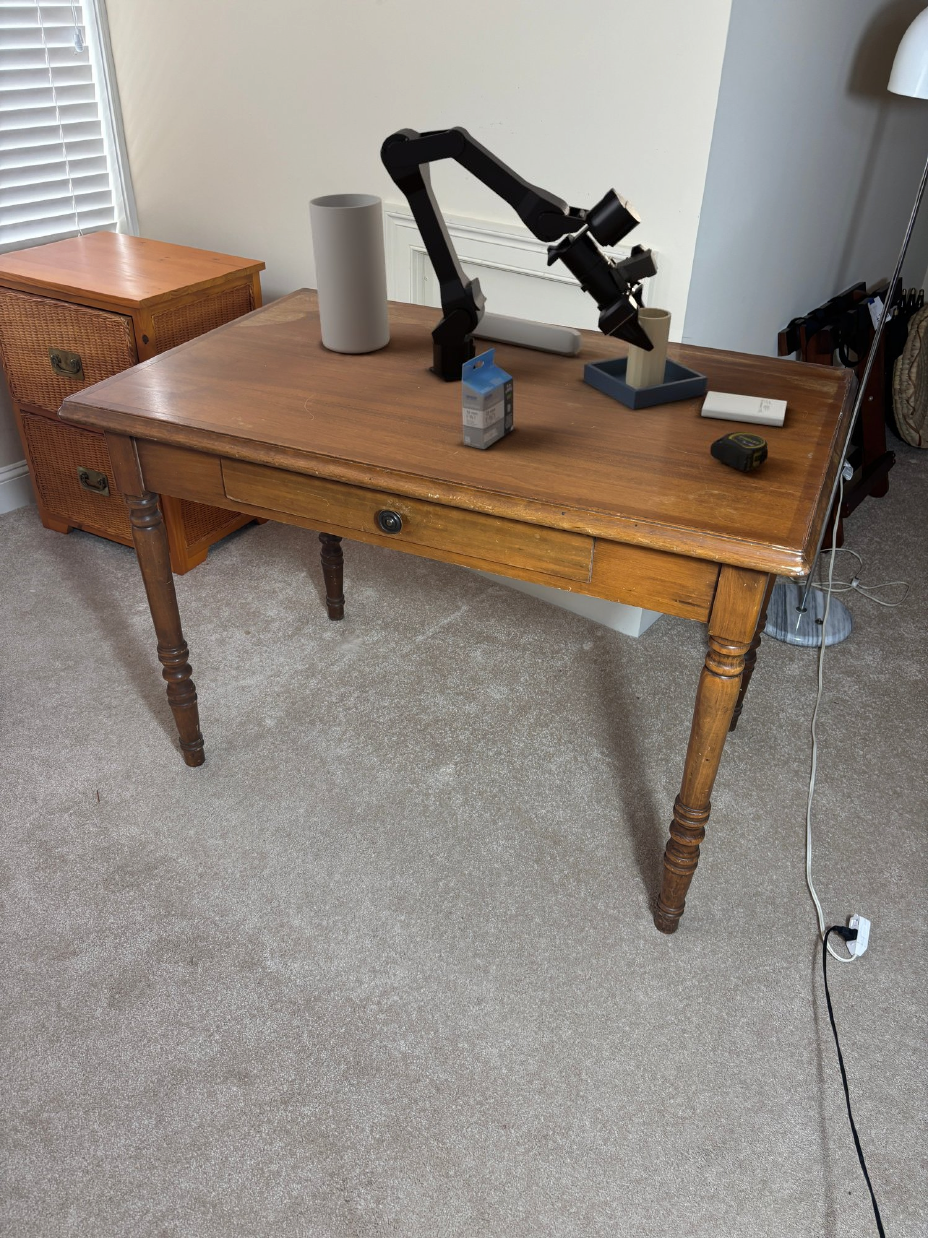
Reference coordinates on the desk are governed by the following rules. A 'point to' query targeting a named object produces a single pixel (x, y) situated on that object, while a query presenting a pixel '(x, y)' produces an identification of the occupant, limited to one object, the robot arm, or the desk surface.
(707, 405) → the hard drive
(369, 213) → the cylinder vase
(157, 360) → the desk surface
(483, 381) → the label tape box
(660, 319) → the pencil cup
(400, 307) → the desk surface
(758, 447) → the tape measure
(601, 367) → the tray
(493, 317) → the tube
